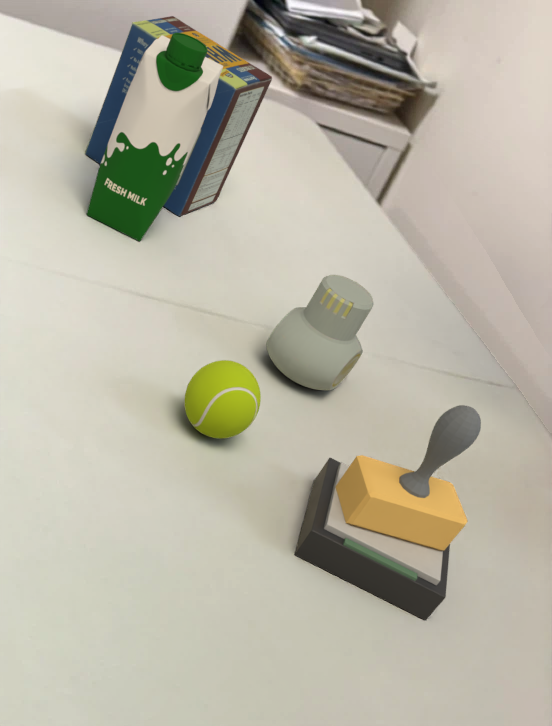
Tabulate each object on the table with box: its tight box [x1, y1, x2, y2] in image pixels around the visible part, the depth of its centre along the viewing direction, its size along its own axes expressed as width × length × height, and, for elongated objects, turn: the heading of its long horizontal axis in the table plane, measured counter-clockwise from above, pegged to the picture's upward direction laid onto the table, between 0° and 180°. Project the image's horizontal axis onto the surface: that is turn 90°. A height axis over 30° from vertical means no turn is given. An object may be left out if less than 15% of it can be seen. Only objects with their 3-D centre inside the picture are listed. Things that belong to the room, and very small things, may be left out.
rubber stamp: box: [336, 404, 482, 551], centre depth 94 cm, size 10×6×12 cm, turn 89°
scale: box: [294, 457, 451, 621], centre depth 99 cm, size 13×13×4 cm
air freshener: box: [265, 274, 375, 391], centre depth 115 cm, size 11×8×10 cm
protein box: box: [84, 15, 273, 217], centre depth 133 cm, size 10×15×16 cm
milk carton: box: [86, 33, 223, 242], centre depth 121 cm, size 9×9×20 cm
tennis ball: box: [183, 359, 262, 439], centre depth 102 cm, size 7×7×7 cm
